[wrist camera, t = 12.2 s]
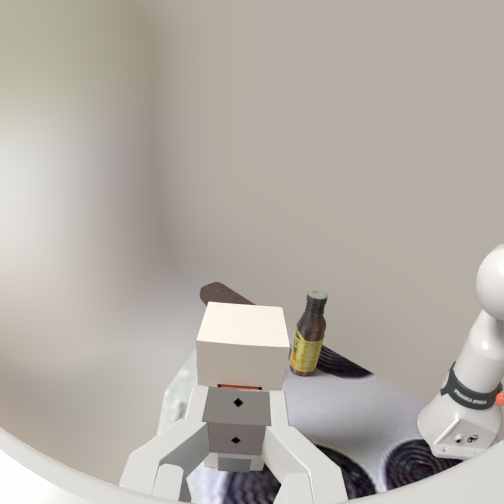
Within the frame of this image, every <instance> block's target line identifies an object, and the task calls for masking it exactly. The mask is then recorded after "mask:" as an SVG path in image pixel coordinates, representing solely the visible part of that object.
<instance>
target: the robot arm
mask: <svg viewBox="0 0 504 504" xmlns="http://www.w3.org/2000/svg"><path fill="white" fill-rule="evenodd" d="M476 291H477V296H478V300H479V302H480V304H481V306H482V308H483V309H482V311H481V313H480V315H479V316H478V318H477V320H476V321H475V323H474V324H473V326H472V328H471V330H470V332H469V334H468V337H467V339H466V341H465V344H464V346H463V348H462V350H461V352H460V354H459V357H458V359H457V361H455V362H454V363H453V365H452V367H451V369H450V370H449V371H448V373H447V375H446V377H445V379H444V381H443V383H442V385H441V389H440V390H439V392H438V393H437V394H436V396H435V397H434V398H433V399H432V401H431V402H430V403H429V404H428V405H427V406H426V407H424V408H423V409H422V410H421V411H420V413H419V415H418V418H417V426H418V430H419V432H420V434H421V436H422V437H423V438H424V440H425V441H426V442H427V443H428V444H429V445H430V448H431V451H432V453H433V455H434V456H436V457H441V458H452V459H468V460H466V461H464V462H462V463H460V464H458V465H456V466H454V467H452V468H450V469H447V470H445V471H443V472H440V473H438V474H436V475H433V476H431V477H428V478H426V479H423V480H420V481H417V482H415V483H412V484H409V485H406V486H403V487H400V488H396V489H393V490H390V491H386V492H382V493H379V494H375V495H371V496H366V497H362V498H357V499H352V500H348V498H347V494H346V490H345V486H344V482H343V478H342V473H341V469H340V467H339V466H337V465H336V464H335V463H334V462H333V461H331V460H330V459H329V458H328V457H327V456H326V455H325V454H323V453H322V452H321V451H320V450H319V449H318V448H317V447H316V446H315V445H313V444H312V443H311V442H310V441H309V440H308V439H307V438H306V437H305V436H304V435H303V434H302V433H300V432H299V431H298V430H297V429H296V428H295V427H294V426H289V420H288V412H287V405H286V398H285V392H284V391H282V390H269V391H268V390H244V389H229V388H220V387H212V386H210V387H209V386H202V385H194V386H193V389H192V393H191V397H190V401H189V405H188V409H187V413H186V417H185V419H179V420H178V421H177V422H175V423H174V424H173V425H171V426H170V427H168V428H167V429H166V430H164V431H163V432H161V433H160V434H159V435H157V436H156V437H154V438H153V439H152V440H150V441H149V442H147V443H146V444H144V445H143V446H141V447H140V448H138V449H137V450H135V451H134V452H132V453H131V454H130V456H129V459H128V461H127V464H126V466H125V469H124V472H123V475H122V477H121V480H120V483H119V486H117V485H114V484H111V483H108V482H105V481H103V480H100V479H97V478H94V477H92V476H89V475H87V474H84V473H82V472H80V471H77V470H75V469H73V468H71V467H68V466H66V465H64V464H62V463H60V462H58V461H56V460H54V459H52V458H50V457H48V456H46V455H44V454H43V453H41V452H39V451H37V450H35V449H34V448H32V447H30V446H28V445H27V444H25V443H23V442H22V441H20V440H19V439H17V438H16V437H14V436H12V435H11V434H9V433H8V432H6V431H5V430H3V429H2V428H1V427H0V504H194V503H191V495H190V492H189V488H188V485H187V481H186V477H187V476H188V475H189V474H190V473H191V472H192V471H193V470H194V469H195V468H196V467H197V466H198V465H199V464H200V463H201V462H202V461H203V460H204V459H205V458H206V457H207V456H208V455H209V452H211V453H225V454H240V455H256V456H260V457H261V458H262V460H263V461H264V462H265V464H266V465H267V466H268V468H269V469H270V470H271V472H272V473H273V474H274V476H275V477H276V478H277V479H278V481H279V482H280V483H281V484H282V486H281V488H280V490H279V492H278V494H277V496H276V499H275V501H274V503H273V504H504V439H503V440H501V441H500V442H498V443H497V441H498V433H499V430H500V427H501V420H502V416H501V409H500V406H501V405H503V404H504V393H502V390H503V388H502V384H501V382H500V381H501V379H502V377H503V376H504V243H503V244H500V245H498V246H497V247H495V248H494V249H493V250H492V251H491V252H490V253H489V254H488V255H487V256H486V258H485V259H484V260H483V262H482V264H481V265H480V268H479V271H478V274H477V279H476Z"/></svg>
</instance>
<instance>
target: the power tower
mask: <svg viewBox="0 0 504 504" xmlns="http://www.w3.org/2000/svg"><path fill="white" fill-rule="evenodd" d="M196 344H197V372H198V385H202V386H209V387H210V386H212V387H220V388H221V384H225V385H237V386H252V387H258V390H268V391H269V390H282V385H283V380H284V375H285V370H286V365H287V360H288V355H289V350H290V345H289V340H288V335H287V330H286V325H285V320H284V315H283V310H282V307H269V306H255V305H241V304H228V303H217V302H209V303H208V306H207V309H206V312H205V315H204V318H203V321H202V324H201V328H200V331H199V334H198V337H197V341H196ZM204 466H205V467H211V468H218V453H211V452H209V455H208V456H207V457H206V458H205V459H204ZM263 466H264V461H263V460H262V458H261V457H260V456H256V455H252V460H251V465H250V470H253V471H262V470H263Z"/></svg>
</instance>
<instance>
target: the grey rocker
mask: <svg viewBox="0 0 504 504" xmlns="http://www.w3.org/2000/svg"><path fill="white" fill-rule="evenodd" d="M251 460H252V455H240V454H225V453H218V470H219V471H231V472H249V471H250V465H251Z"/></svg>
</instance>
